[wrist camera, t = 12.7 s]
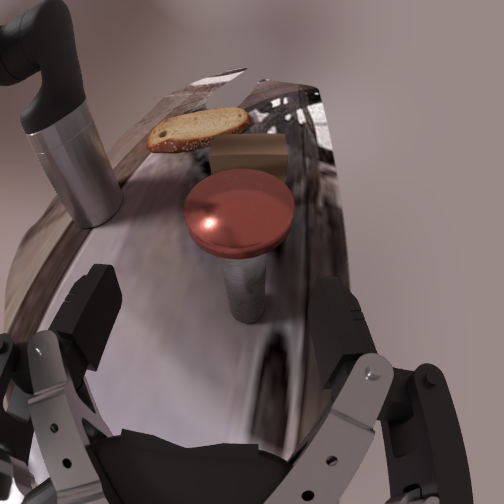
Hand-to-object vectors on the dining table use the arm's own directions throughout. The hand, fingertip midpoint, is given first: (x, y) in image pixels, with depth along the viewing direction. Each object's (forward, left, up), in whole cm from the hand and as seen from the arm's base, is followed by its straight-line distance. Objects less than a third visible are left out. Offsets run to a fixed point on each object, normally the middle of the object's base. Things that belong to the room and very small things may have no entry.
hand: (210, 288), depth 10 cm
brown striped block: (-20, +12, -16) cm, 29 cm away
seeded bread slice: (-43, +13, -17) cm, 48 cm away
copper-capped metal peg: (-8, +6, -16) cm, 19 cm away
